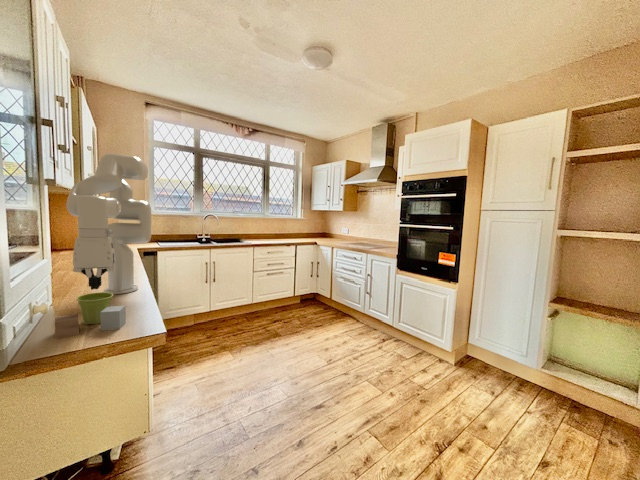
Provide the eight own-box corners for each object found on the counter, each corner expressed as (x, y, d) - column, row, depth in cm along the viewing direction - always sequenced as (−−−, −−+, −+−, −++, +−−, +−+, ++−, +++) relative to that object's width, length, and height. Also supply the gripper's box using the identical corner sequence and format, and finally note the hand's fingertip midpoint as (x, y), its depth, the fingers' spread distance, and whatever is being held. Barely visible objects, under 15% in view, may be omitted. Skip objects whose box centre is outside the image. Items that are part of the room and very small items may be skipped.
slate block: (107, 324, 87) (107, 306, 87) (125, 323, 89) (125, 305, 88) (100, 330, 83) (99, 312, 82) (119, 329, 84) (119, 311, 84)
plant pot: (106, 313, 95) (106, 290, 95) (118, 320, 91) (118, 295, 90) (72, 322, 87) (71, 296, 87) (84, 329, 83) (83, 302, 82)
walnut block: (56, 332, 80) (55, 316, 79) (78, 328, 83) (78, 313, 83) (55, 339, 76) (54, 322, 76) (78, 334, 80) (78, 318, 79)
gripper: (123, 233, 93) (124, 283, 95) (67, 232, 86) (69, 287, 88) (119, 235, 87) (120, 289, 88) (58, 234, 80) (60, 293, 81)
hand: (95, 288), depth 88 cm, fingers closed
